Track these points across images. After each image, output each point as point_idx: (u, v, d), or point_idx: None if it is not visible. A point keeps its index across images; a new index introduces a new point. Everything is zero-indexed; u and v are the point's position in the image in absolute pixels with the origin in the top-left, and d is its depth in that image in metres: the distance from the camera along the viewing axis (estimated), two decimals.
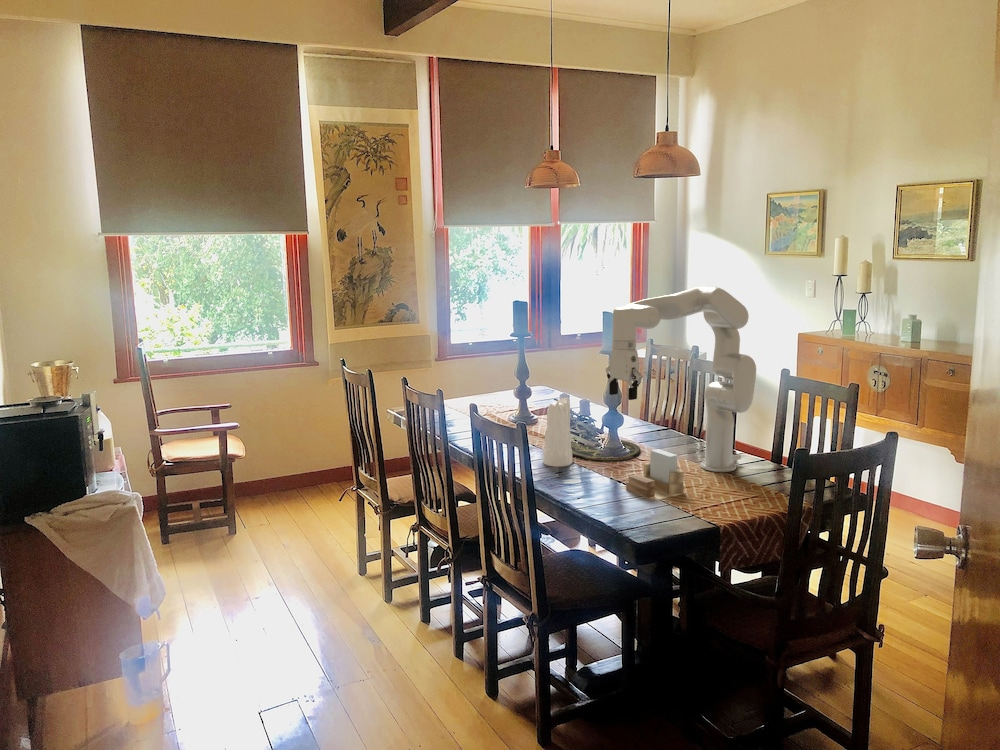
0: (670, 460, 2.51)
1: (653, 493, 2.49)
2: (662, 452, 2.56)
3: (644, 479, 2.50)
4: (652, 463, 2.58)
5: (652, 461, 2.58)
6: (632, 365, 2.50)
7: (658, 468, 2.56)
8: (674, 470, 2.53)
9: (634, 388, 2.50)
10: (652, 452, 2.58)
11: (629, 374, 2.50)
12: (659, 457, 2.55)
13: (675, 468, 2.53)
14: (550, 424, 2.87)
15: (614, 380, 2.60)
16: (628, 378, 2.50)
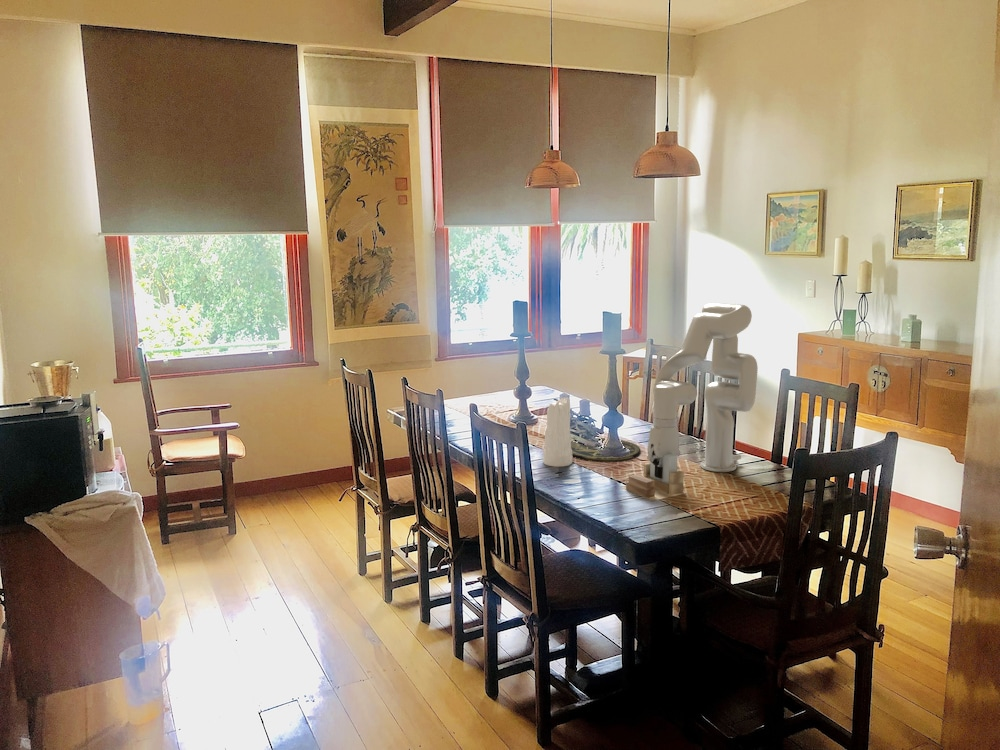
0: (670, 460, 2.51)
1: (653, 493, 2.49)
2: None
3: (644, 479, 2.50)
4: (652, 463, 2.58)
5: None
6: None
7: None
8: (674, 470, 2.53)
9: None
10: None
11: None
12: None
13: (675, 468, 2.53)
14: (550, 424, 2.87)
15: None
16: (678, 451, 2.56)
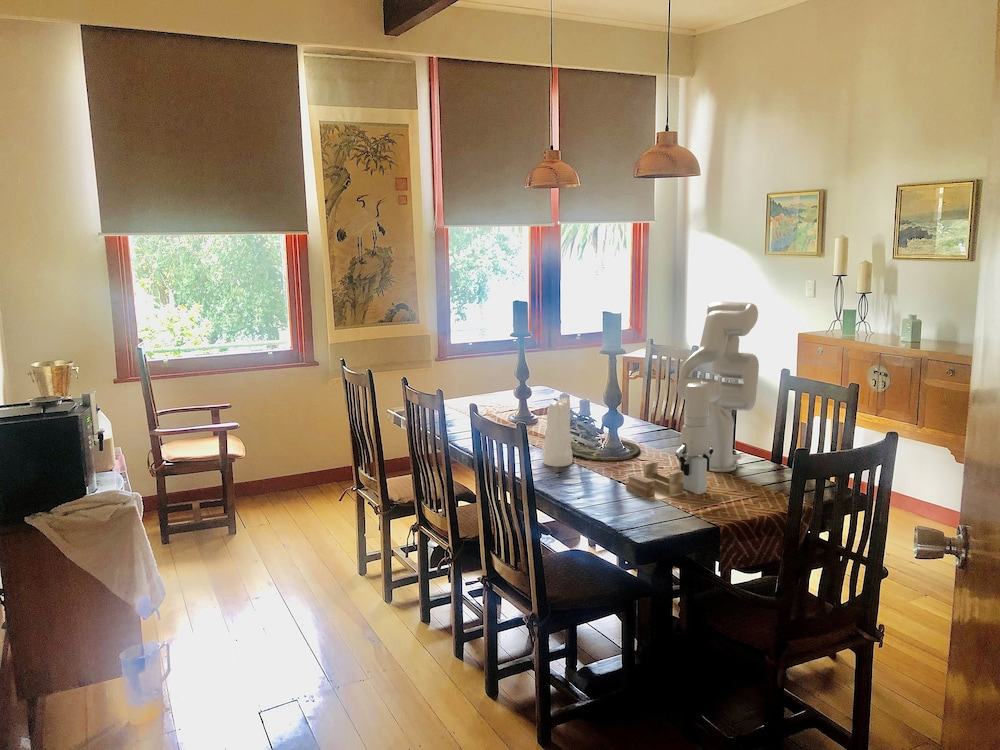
0: (699, 463, 2.50)
1: (653, 493, 2.49)
2: None
3: (644, 479, 2.50)
4: (680, 467, 2.57)
5: None
6: None
7: None
8: (703, 474, 2.51)
9: None
10: None
11: None
12: None
13: (704, 472, 2.51)
14: (550, 424, 2.87)
15: None
16: (709, 449, 2.55)
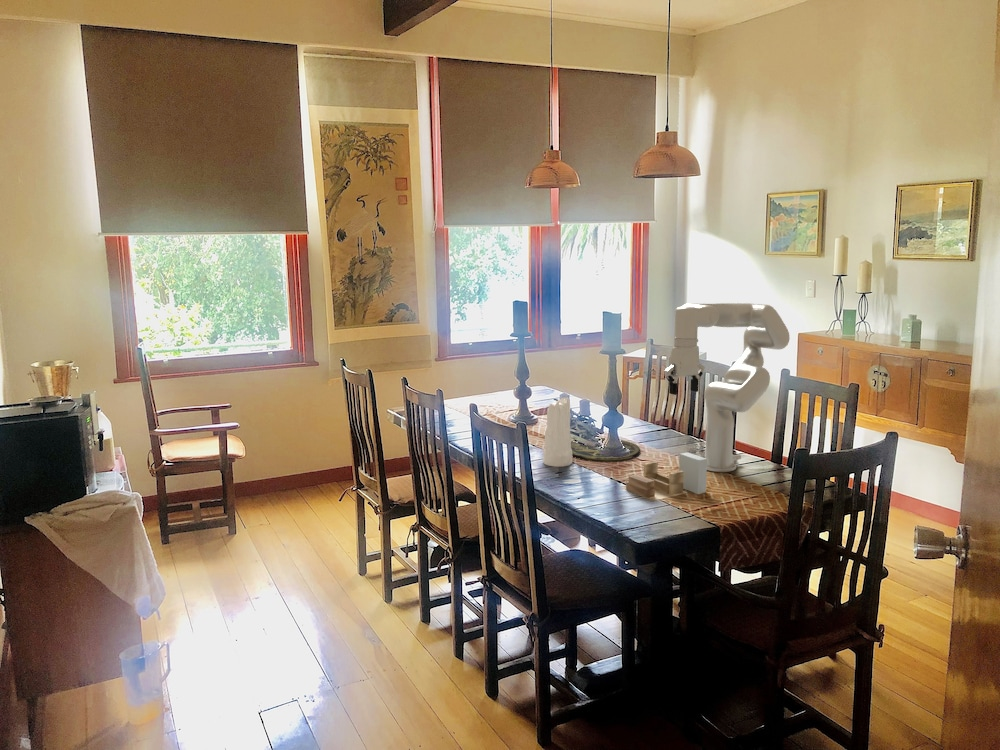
0: (699, 463, 2.50)
1: (653, 493, 2.49)
2: (691, 455, 2.54)
3: (644, 479, 2.50)
4: (680, 467, 2.57)
5: (681, 464, 2.57)
6: None
7: (687, 472, 2.55)
8: (703, 474, 2.51)
9: None
10: (681, 455, 2.56)
11: None
12: (688, 461, 2.54)
13: (704, 472, 2.51)
14: (550, 424, 2.87)
15: None
16: (698, 371, 2.67)
